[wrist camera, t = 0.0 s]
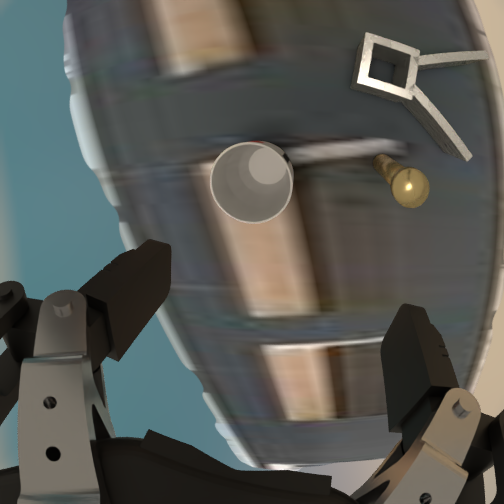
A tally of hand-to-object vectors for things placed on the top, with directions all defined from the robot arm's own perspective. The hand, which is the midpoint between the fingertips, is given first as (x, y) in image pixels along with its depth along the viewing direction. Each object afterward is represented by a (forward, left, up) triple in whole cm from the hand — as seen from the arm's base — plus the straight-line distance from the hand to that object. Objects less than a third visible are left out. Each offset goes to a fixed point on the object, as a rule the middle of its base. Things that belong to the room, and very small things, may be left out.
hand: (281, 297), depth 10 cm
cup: (+2, -5, -30) cm, 30 cm away
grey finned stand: (-13, +10, -29) cm, 34 cm away
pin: (-2, +9, -29) cm, 31 cm away
